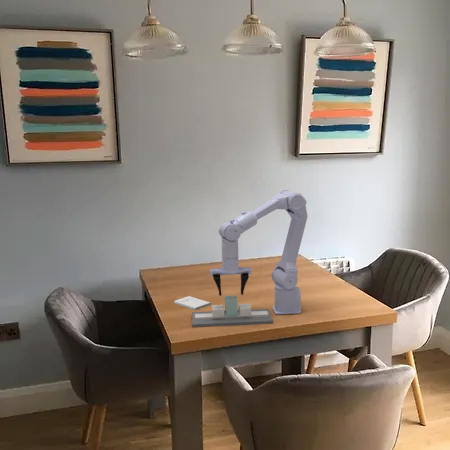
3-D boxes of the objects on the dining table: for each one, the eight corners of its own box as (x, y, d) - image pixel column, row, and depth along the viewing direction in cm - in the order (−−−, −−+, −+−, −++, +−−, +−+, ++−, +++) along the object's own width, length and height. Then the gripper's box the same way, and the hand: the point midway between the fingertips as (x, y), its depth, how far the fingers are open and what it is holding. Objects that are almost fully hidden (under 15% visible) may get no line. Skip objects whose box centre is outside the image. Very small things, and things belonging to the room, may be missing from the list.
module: (236, 311, 193) (236, 295, 192) (237, 316, 188) (237, 299, 187) (225, 311, 193) (224, 295, 192) (226, 316, 188) (225, 300, 187)
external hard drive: (195, 312, 200) (173, 304, 209) (211, 306, 206) (189, 299, 215) (195, 307, 200) (173, 300, 209) (211, 302, 206) (189, 295, 214)
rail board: (268, 311, 197) (268, 299, 197) (273, 323, 186) (273, 310, 185) (192, 314, 196) (191, 302, 195) (192, 327, 184) (191, 314, 183)
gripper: (249, 253, 191) (250, 289, 193) (208, 254, 190) (210, 291, 193) (251, 258, 184) (252, 296, 186) (209, 260, 183) (210, 298, 186)
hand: (231, 294), depth 189 cm, fingers open, 7 cm apart
